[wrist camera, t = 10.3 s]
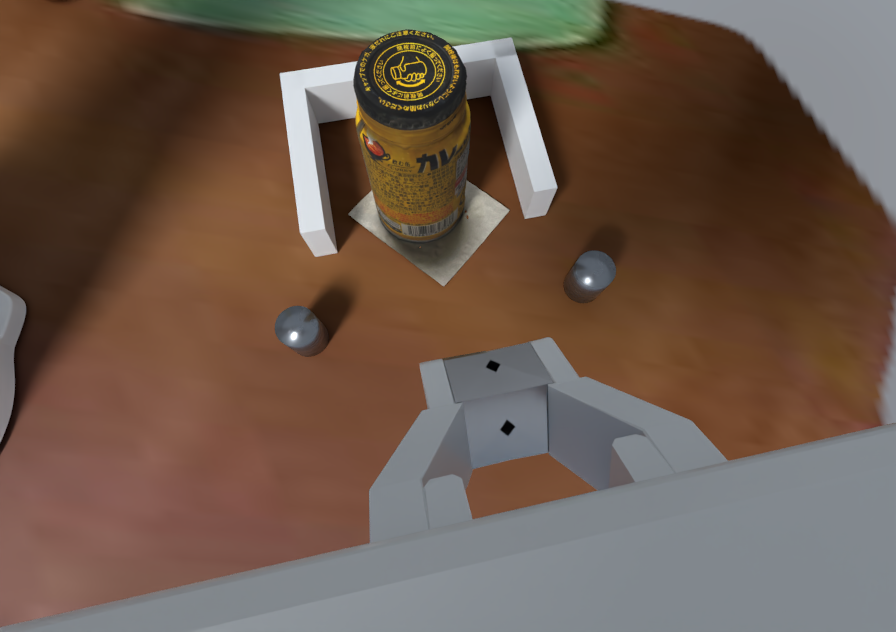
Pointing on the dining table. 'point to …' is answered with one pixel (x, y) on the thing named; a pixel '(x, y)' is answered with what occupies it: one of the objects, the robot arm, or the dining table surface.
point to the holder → (334, 99)
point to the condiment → (419, 153)
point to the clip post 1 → (301, 331)
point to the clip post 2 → (589, 276)
